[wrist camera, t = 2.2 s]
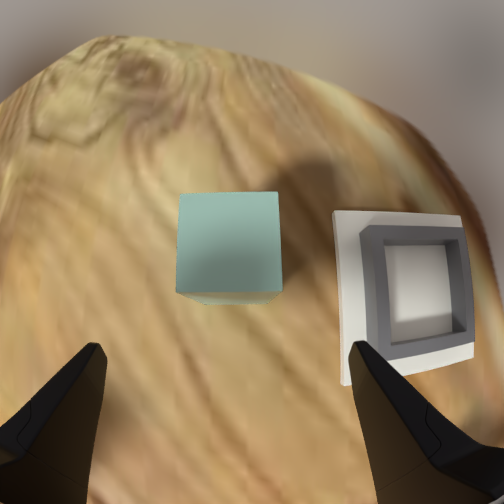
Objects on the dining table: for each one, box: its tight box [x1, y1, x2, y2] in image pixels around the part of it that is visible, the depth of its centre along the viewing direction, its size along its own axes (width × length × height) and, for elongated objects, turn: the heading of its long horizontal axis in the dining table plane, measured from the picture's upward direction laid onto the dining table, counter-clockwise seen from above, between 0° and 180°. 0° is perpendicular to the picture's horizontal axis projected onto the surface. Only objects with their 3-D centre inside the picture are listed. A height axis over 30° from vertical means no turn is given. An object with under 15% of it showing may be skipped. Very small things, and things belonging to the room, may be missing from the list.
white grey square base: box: [332, 210, 475, 386], centre depth 20 cm, size 13×13×3 cm
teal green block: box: [176, 192, 283, 305], centre depth 17 cm, size 4×4×9 cm
